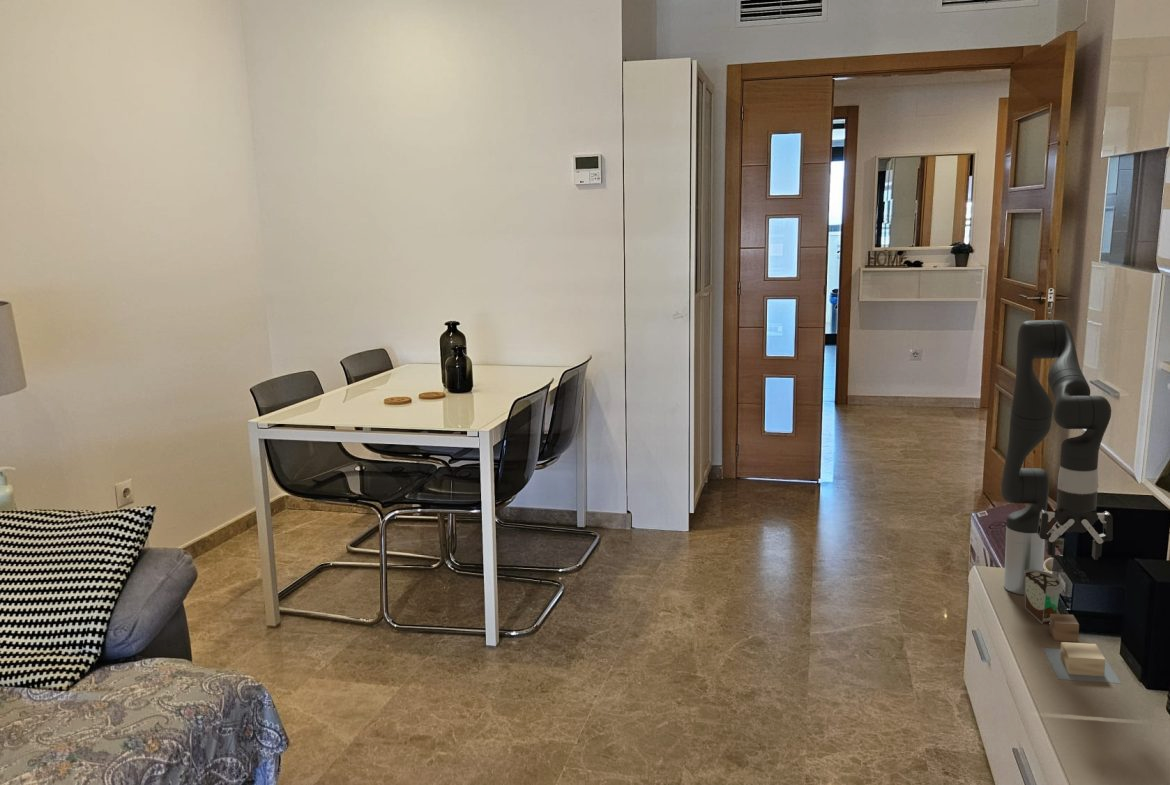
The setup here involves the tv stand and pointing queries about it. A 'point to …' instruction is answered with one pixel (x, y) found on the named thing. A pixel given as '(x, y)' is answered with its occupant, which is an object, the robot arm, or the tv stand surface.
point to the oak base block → (1082, 659)
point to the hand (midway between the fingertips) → (1073, 557)
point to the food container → (1042, 594)
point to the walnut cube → (1064, 627)
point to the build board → (1063, 674)
